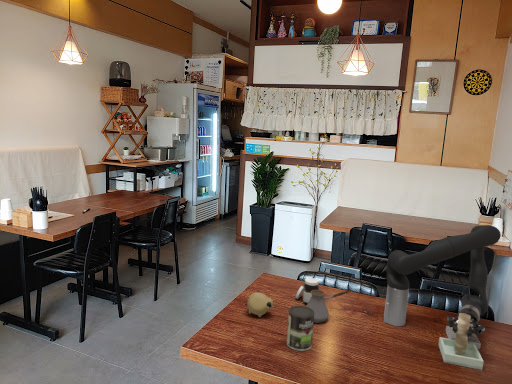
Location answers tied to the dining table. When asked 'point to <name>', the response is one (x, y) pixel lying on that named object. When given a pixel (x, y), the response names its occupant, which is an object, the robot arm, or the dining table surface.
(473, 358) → the tray
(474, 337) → the socket block
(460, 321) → the dowel
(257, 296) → the toy pig
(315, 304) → the coffee pot
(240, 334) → the dining table surface
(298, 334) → the coffee can
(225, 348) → the dining table surface
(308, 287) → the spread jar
